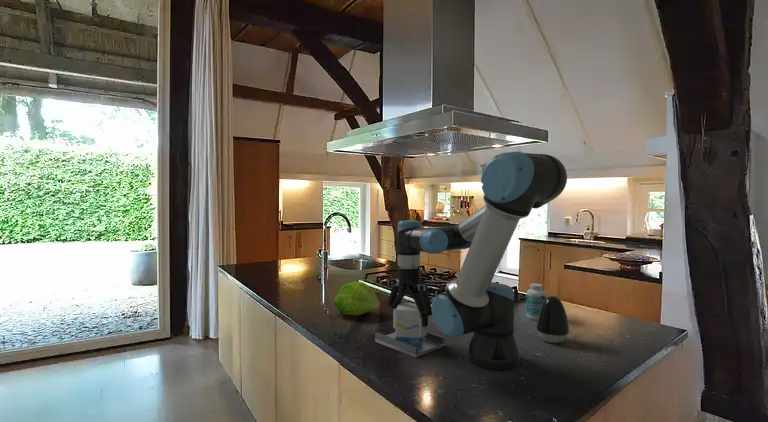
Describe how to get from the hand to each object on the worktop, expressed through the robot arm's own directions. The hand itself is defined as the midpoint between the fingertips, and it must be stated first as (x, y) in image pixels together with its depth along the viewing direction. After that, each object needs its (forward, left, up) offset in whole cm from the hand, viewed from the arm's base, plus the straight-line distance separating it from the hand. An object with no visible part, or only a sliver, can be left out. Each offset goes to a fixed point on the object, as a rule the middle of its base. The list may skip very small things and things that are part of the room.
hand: (409, 331), depth 137 cm
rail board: (0, 0, -4) cm, 4 cm away
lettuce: (+39, -8, -4) cm, 40 cm away
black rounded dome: (-31, -37, -4) cm, 49 cm away
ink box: (0, 0, -3) cm, 3 cm away
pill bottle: (-15, -57, -4) cm, 59 cm away
